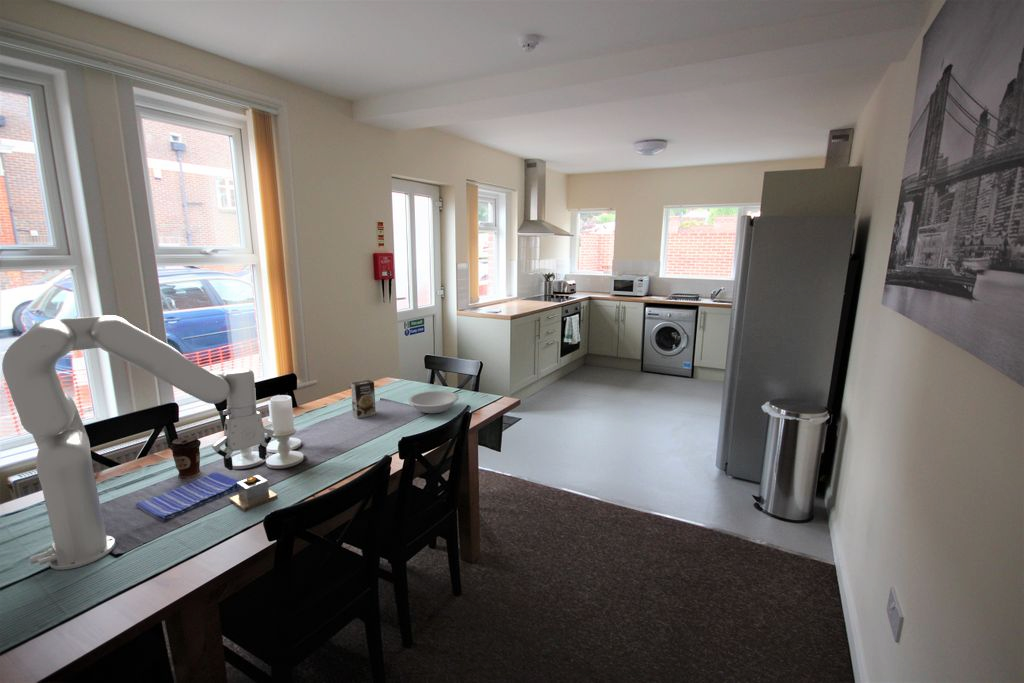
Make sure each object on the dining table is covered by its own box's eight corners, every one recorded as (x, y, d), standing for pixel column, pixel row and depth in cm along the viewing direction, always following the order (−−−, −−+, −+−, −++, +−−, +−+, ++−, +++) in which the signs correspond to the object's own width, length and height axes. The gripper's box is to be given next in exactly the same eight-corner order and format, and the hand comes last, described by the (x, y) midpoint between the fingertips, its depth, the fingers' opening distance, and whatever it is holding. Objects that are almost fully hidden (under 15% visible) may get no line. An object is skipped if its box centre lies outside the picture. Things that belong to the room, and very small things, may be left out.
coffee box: (357, 419, 215) (355, 385, 212) (352, 415, 220) (350, 382, 217) (376, 414, 221) (374, 382, 218) (371, 411, 226) (369, 379, 223)
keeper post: (244, 511, 139) (241, 490, 138) (229, 500, 145) (227, 480, 144) (277, 497, 147) (275, 477, 146) (262, 488, 153) (260, 468, 152)
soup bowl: (399, 410, 227) (398, 397, 225) (441, 399, 243) (440, 387, 241) (426, 423, 209) (425, 409, 208) (468, 411, 225) (468, 398, 224)
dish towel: (244, 487, 154) (243, 480, 154) (163, 523, 134) (161, 514, 134) (215, 475, 163) (214, 468, 162) (135, 508, 142) (133, 499, 142)
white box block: (248, 503, 142) (246, 488, 141) (238, 497, 145) (236, 482, 144) (269, 495, 147) (267, 480, 146) (259, 488, 150) (257, 474, 149)
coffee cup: (188, 481, 157) (183, 445, 155) (168, 479, 159) (162, 443, 156) (209, 470, 166) (205, 435, 163) (190, 468, 167) (185, 434, 165)
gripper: (215, 420, 131) (220, 477, 134) (277, 406, 145) (280, 458, 148) (205, 414, 136) (210, 469, 139) (265, 401, 149) (269, 451, 152)
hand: (246, 463), depth 143 cm, fingers open, 9 cm apart
